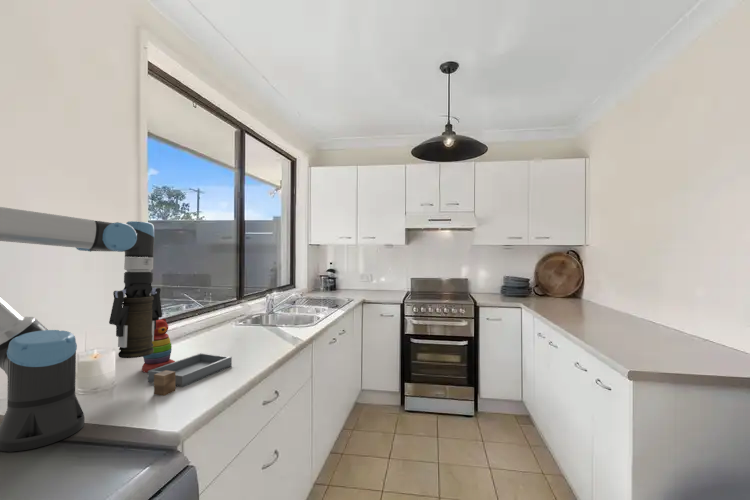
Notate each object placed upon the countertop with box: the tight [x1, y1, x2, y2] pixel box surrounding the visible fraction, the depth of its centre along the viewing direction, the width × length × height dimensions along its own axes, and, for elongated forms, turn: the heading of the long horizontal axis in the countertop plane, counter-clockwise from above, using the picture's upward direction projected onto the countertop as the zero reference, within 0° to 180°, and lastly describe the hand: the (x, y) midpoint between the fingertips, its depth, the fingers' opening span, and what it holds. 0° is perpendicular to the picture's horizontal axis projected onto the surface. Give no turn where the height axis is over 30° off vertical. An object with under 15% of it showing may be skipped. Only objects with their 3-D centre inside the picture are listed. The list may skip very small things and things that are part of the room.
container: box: [117, 295, 154, 359], centre depth 109 cm, size 9×9×18 cm
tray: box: [147, 352, 233, 388], centre depth 124 cm, size 22×15×4 cm
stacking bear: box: [141, 318, 176, 374], centre depth 131 cm, size 11×10×18 cm
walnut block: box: [153, 370, 176, 397], centre depth 107 cm, size 4×4×6 cm
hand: (136, 343), depth 109 cm, fingers closed on container, 8 cm apart
